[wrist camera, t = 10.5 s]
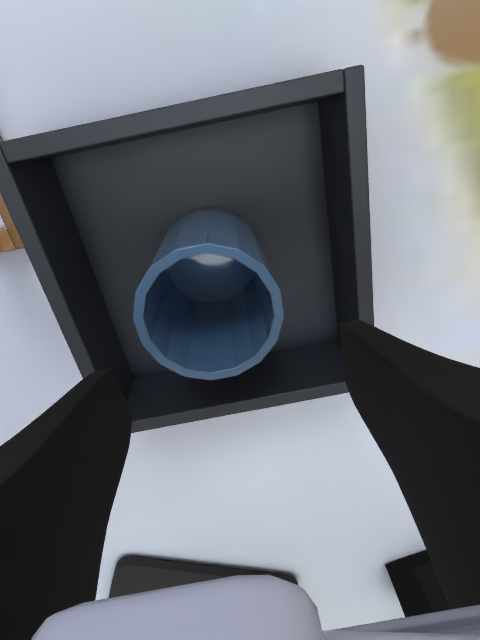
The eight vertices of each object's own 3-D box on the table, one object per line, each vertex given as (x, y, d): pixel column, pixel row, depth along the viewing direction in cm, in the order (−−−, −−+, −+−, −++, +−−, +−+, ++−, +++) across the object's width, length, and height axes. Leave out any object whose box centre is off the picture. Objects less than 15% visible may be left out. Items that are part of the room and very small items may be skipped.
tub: (127, 384, 23) (108, 438, 19) (34, 143, 17) (-22, 146, 13) (348, 342, 23) (377, 387, 19) (328, 81, 17) (364, 63, 13)
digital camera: (401, 596, 34) (442, 700, 28) (383, 564, 32) (423, 668, 26) (517, 558, 33) (588, 658, 27) (506, 521, 31) (582, 621, 24)
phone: (116, 562, 29) (303, 585, 31) (119, 551, 30) (301, 575, 32) (104, 617, 32) (275, 635, 34) (107, 606, 33) (274, 624, 35)
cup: (175, 313, 21) (157, 391, 14) (148, 218, 18) (112, 261, 12) (268, 294, 20) (291, 365, 14) (252, 197, 18) (271, 229, 12)
